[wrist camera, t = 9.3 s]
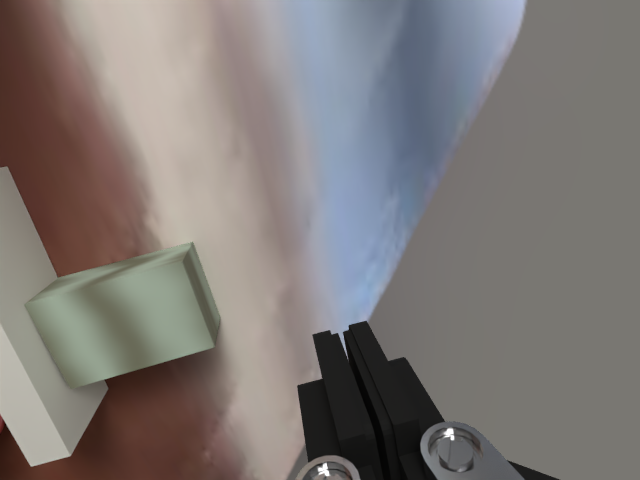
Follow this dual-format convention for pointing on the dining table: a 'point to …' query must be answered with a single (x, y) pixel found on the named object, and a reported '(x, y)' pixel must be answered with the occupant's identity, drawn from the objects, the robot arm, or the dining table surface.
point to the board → (33, 345)
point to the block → (127, 315)
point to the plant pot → (1, 423)
